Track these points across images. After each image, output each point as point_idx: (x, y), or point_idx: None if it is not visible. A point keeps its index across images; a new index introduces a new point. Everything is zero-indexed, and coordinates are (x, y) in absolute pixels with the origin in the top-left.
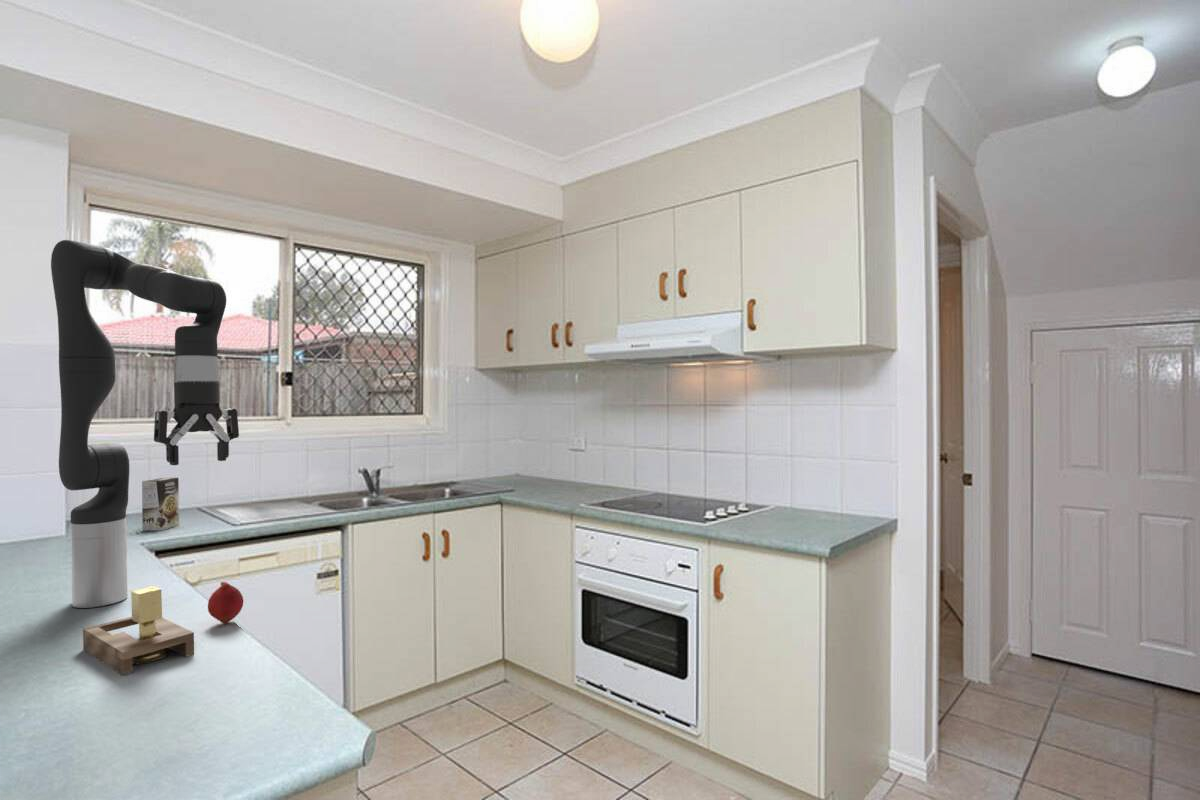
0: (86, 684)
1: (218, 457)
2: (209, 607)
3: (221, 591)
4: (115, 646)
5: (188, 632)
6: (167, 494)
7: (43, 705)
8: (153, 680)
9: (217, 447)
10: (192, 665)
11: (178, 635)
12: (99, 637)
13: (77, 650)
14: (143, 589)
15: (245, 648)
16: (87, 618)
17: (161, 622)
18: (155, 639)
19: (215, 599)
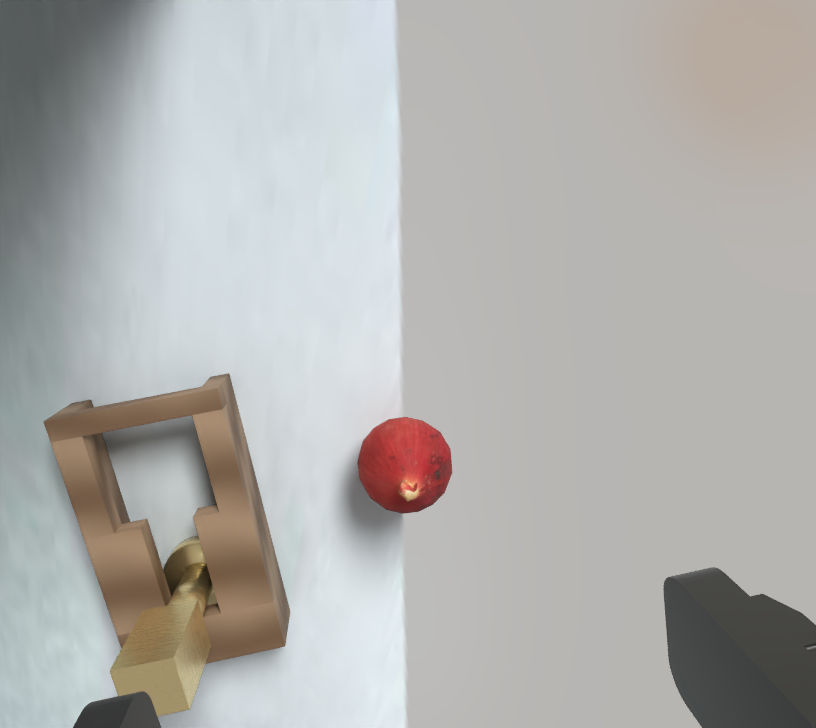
0: (84, 640)
1: (686, 616)
2: (359, 475)
3: (393, 501)
4: (119, 628)
5: (274, 638)
6: None
7: (14, 694)
8: (199, 700)
9: (788, 705)
10: (275, 671)
11: (251, 644)
12: (85, 533)
13: (59, 397)
14: (143, 680)
15: (384, 647)
16: (75, 71)
17: (231, 514)
18: None
19: (374, 496)
